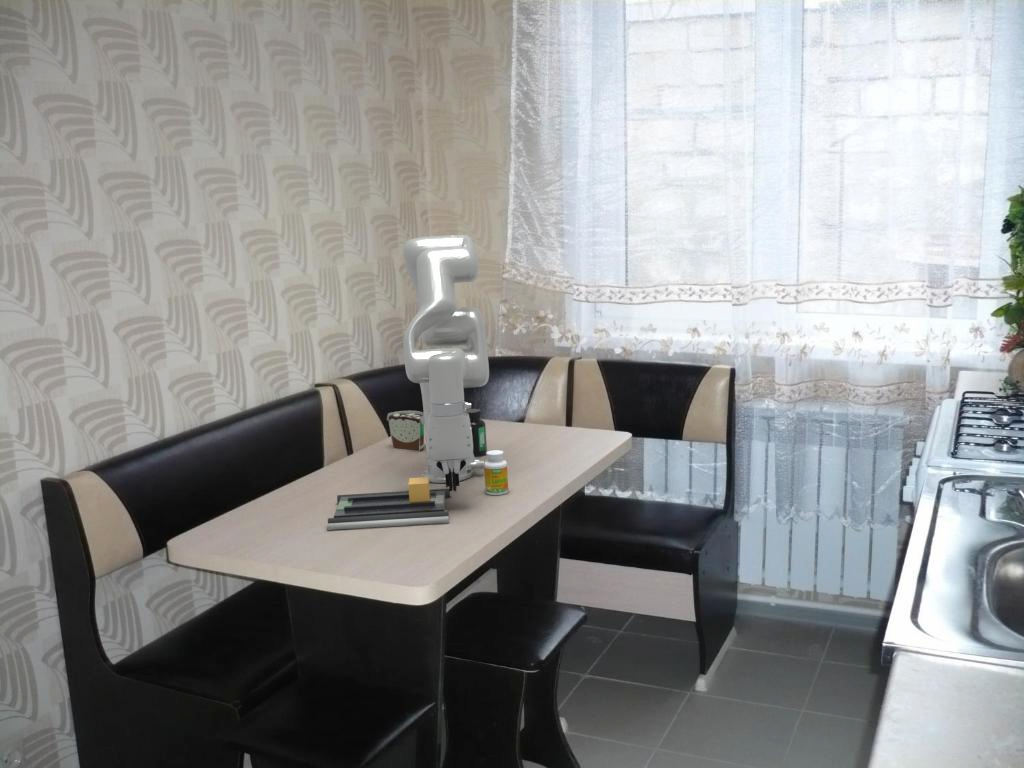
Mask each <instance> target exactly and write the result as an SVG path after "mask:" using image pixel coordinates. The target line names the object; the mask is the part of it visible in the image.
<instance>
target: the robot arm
mask: <svg viewBox="0 0 1024 768" xmlns="http://www.w3.org/2000/svg"><path fill="white" fill-rule="evenodd" d="M402 254H403V255H402V256H403V262H404V265H405V270H406V272H407V276H408V277H409V280H410V282H411V283H412V287H413V288H414V290H415V294H416V299H417V300H416V301H417V310H418V311H417V313H416V315H415V316H414V317H413V318H412V320H411V321H410V322H409V324H408V326H407V328H406V331H405V333H404V338H403V352H404V353H403V354H404V356H403V357H404V367H405V368H404V369H405V373H406V376H407V379H408V380H409V381H410V382H412V383H414V384H419V386H420V391H421V399H422V407H423V411H422V412H423V413H424V441H425V450H426V451H425V453H426V467H427V468H426V469H425V470H423V471H421V477H429V483H436V484H437V483H439V484H440V483H441V484H444V483H445V488H448V489H449V491H450V492H452V491H453V492H457V487H460V482H462V481H464V480H466V479H467V480H468V479H469V478H471V477H472V476H473V470H472V469H477V470H478V469H484V463H485V462H484V460H479V458H478V459H476V457H474V454H473V438H472V429H471V422H470V418H469V414H468V413H465V411H466V410H468V409H472V403H471V402H467V401H465V392H464V391H465V390H464V389H469V388H479V387H483V386H485V385H486V384H487V383H488V382H489V378H490V366H489V365H490V364H489V356H488V345H487V337H486V336H487V335H486V328H485V321H484V317H483V315H482V313H481V311H480V310H479V309H478V308H476V307H473V306H463V307H462V306H461V307H458V306H457V298H456V291H455V290H456V289H455V284H457V283H458V284H459V283H461V284H462V283H471V282H472V283H473V282H474V281H476V280H477V277H478V275H479V260H478V254H477V250H476V247H475V244H474V241H473V239H472V237H470V236H469V235H468V234H467V235H466V234H454V235H453V234H451V235H449V234H448V235H431V236H430V235H429V236H419V237H416V238H411V239H408V241H406V242H405V244H404V246H403V250H402ZM419 336H420V338H421V342H422V343H423V344H424V345H425V346H426V347H429V348H428V349H417V348H416V344H417V340H418V338H419ZM461 346H463V347H466V348H464V349H462V348H458V347H461ZM444 347H445V348H444ZM430 348H431V349H430Z"/></svg>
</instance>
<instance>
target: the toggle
mask: <svg viewBox="0 0 1024 768" xmlns="http://www.w3.org/2000/svg"><path fill="white" fill-rule="evenodd" d="M407 484H408V485H407V486H408V491H409V501H410V502H425V501H430V490H431V489H430V488H431V487H430V486H431V485H430V482H429V477H422V476H421V477H409V480H408V483H407Z"/></svg>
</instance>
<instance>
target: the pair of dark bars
mask: <svg viewBox="0 0 1024 768" xmlns="http://www.w3.org/2000/svg"><path fill="white" fill-rule="evenodd" d="M433 491H445V496H446V498H451V491H449V488H436V489H435V488H433V489H430V492H433ZM400 493H409V490H403V491H402V490H400V491H385V492H368V493H356V494H355V493H353V494H351V493H350V494H337V495H336V496H337V497H336V498H337V499H336V502H337V505H338V504H339V501H340V498H341V497H350V496H367V495H383V494H400ZM449 523H450V513H449V510H445V511H439V512H423V513H406V514H390V515H373V516H357V517H340V518H334V517H328V518H327V523H326V530H327V531H336V530H352V529H353V530H354V529H355V530H356V529H369V528H382V527H383V528H386V527H398V526H400V527H401V526H417V525H418V526H419V525H433V524H434V525H435V524H449Z"/></svg>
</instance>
